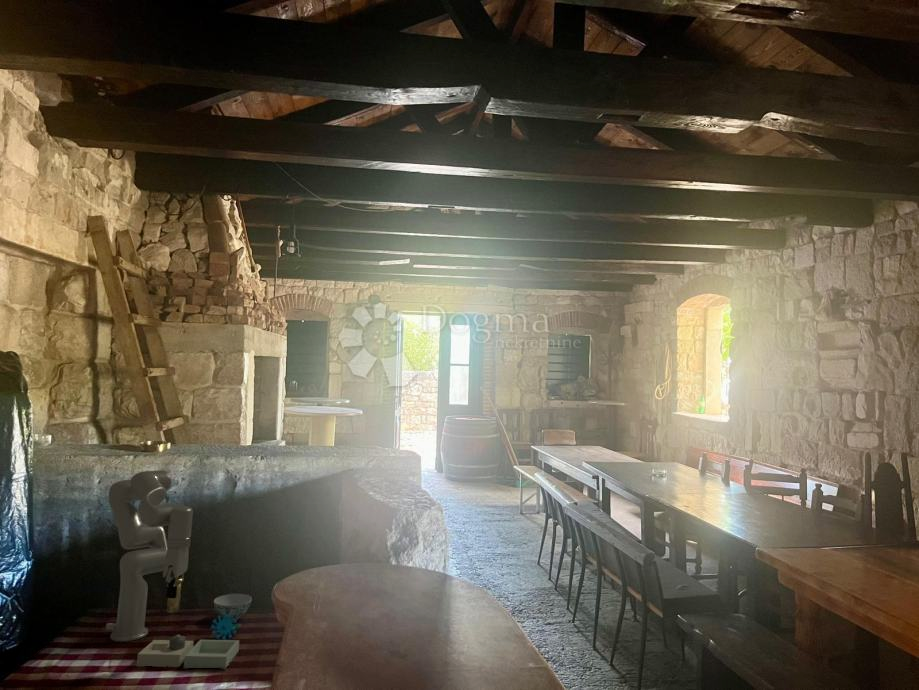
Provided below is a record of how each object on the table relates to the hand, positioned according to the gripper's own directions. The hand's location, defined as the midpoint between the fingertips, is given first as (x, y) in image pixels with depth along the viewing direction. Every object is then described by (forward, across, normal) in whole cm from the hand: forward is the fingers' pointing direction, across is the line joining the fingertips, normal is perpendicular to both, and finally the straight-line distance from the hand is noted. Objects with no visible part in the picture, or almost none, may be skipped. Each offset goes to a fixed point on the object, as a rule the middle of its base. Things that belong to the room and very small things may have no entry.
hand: (174, 595), depth 205 cm
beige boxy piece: (+22, 0, -1) cm, 22 cm away
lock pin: (+5, 0, 0) cm, 5 cm away
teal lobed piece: (+22, -22, +12) cm, 33 cm away
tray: (+22, -1, +15) cm, 26 cm away
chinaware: (+22, -41, +8) cm, 47 cm away
